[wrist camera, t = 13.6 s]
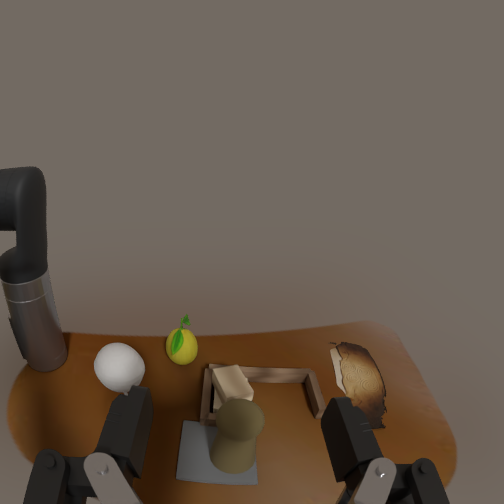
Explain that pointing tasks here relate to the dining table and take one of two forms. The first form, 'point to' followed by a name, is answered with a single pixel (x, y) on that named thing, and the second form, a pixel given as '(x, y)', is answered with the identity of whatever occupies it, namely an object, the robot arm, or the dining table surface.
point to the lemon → (182, 344)
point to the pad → (205, 458)
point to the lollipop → (119, 367)
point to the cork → (236, 436)
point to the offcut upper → (231, 384)
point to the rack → (271, 377)
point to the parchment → (360, 380)
